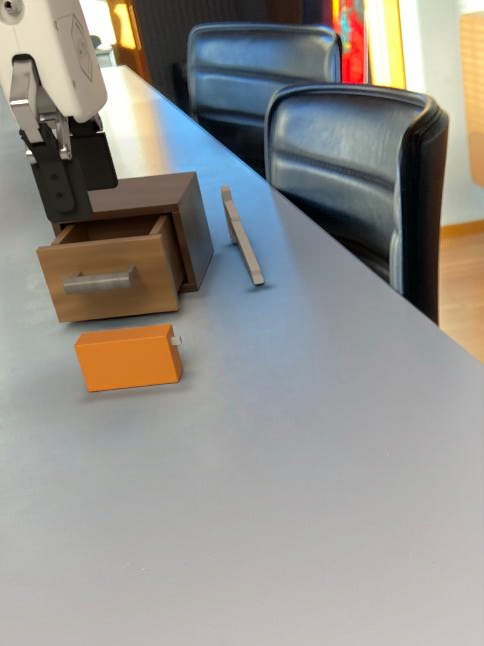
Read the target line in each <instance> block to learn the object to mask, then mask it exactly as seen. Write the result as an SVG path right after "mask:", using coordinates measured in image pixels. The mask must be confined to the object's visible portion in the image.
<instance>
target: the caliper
mask: <svg viewBox="0 0 484 646" xmlns="http://www.w3.org/2000/svg"><path fill="white" fill-rule="evenodd" d="M219 188H220V193H221V194H220V196H221V201H222V206H223V212H224V215H225V221H226V226H227V231H228V235H229V238H230V239H231V244H232V245H234V244H237V245H238V248H239V251H240V254H241V256H242V258H243V262H244V263H245V266H246V268H247V270H248V274H249V276H250V278H251V282H252V283H253V285H261V284H265V280H264V277H263V275H262V270H261V267H260V265H259V262H258V260H257V258H256V255H255V252H254V251H253V248H252V245H251V243H250V240H249V238H248V235H247V233H246V231H245V228H244V226H243V224H242V221H241V217H240V214H239V212H238V209H237V207H236V204H235V202H234V200H233V196H232V190H231V189H230V185H229V184H226V185H219Z"/></svg>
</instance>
